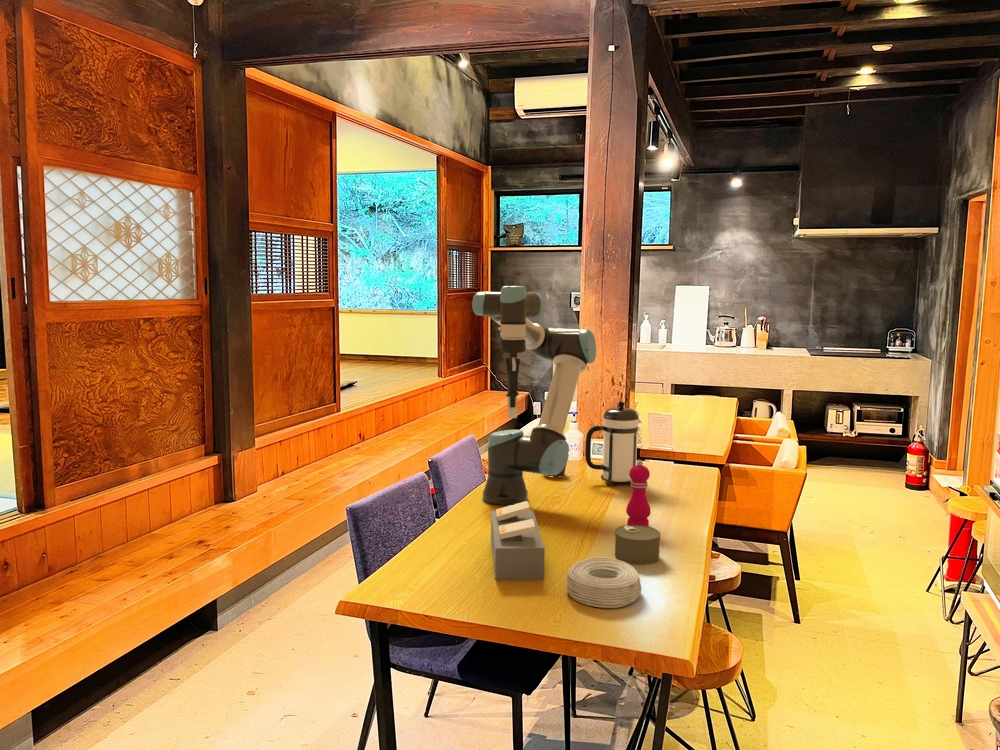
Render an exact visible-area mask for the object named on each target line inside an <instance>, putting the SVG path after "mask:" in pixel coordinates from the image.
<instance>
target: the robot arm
mask: <svg viewBox="0 0 1000 750" xmlns="http://www.w3.org/2000/svg"><path fill="white" fill-rule="evenodd" d="M471 304H472V305H471V306H472V311H473V313H474V314H475V315H476V316H479V317H481V316H482V317H486V316H487V317H489V319H491V320H492V321H494V322H495V323H496V324H498V325H499V326H500V327H499V326H498V331H500V333H499V334H500V335H499V336H500V338H501V339H500V340H499V350H500V352H501V353H507V356H508V357H506V358H505V364H506V373H507V390H506V391H507V393H506V394H505V397H507V419H517V418H518V396H519V395H520V393H519V392H518V386H519V385H518V384H519V383H518V382H519V373H520V364H521V359H520V357H518V353H526V350H527V351H528V352H529V353H531V354H532V355H535V356H537V357H539V358H542V359H544V360H547V361H552V362H553V364H554V365H555V367H554V368H555V369H554V370H553V374H552V378H551V381H550V385H549V388H548V392H547V394H546V399H545V400H544V401H545V402H544V405H543V408H542V412H541V415H540V419H539V422H538V424H537V426H534V427H532V430H531V433H530V435H524V431H523V430H521V429H505V430H499V431H494V432H492V433H491V434H490V435H489V436H488V440H487V441H488V442H487V443H488V444H487V472H488V473H487V479H486V482H485V484H484V485H485V486H484V489H483V491H482V500H483V501H484V502H485V503H488V502H489V503H488V504H491V503H493V505H497V504H517V503H521V502H525V501H526V500H527V501H528V499H529V497H528V495H529V493H528V489H527V487H526V483H525V480H524V475H523V474H524V472H525V473H532V474H540V475H542V476H544V475H557V474H559V473H560V472H561V471H562V470H563V469H564V467H565V465H566V463H567V464H568V460H569V457H570V455H569V452H570V446H569V443H568V442H567V437H566V435H565V434H564V432H565V428H566V424H567V420H568V416H569V413H570V411H571V410H570V409H571V407H572V403H573V400H574V395H575V392H576V388H577V385H578V381H579V377H580V374H581V373H583V372H584V371H585V370H586V369H587V365H588V364H592V363H594V362H595V361H596V357H597V343H596V339H595V335H594V333H593V332H592V331H591V330H590V329H584V328H581V327H580V328H564V327H546V326H542V325H540V324H538V323H533V321H531V320H530V319H529V318H535V317H539V316H540V315H542V313H543V312H544V311H545V307H546V301H545V297H543V296H542V294H540V293H538V292H536V291H528V292H527V288H526V287H525V286H523V285H503V286H502V287H501V289H500V291H487V290H485V291H478V292H476V293H475V294H474V296H473V297H472V301H471ZM566 466H567V465H566Z"/></svg>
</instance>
